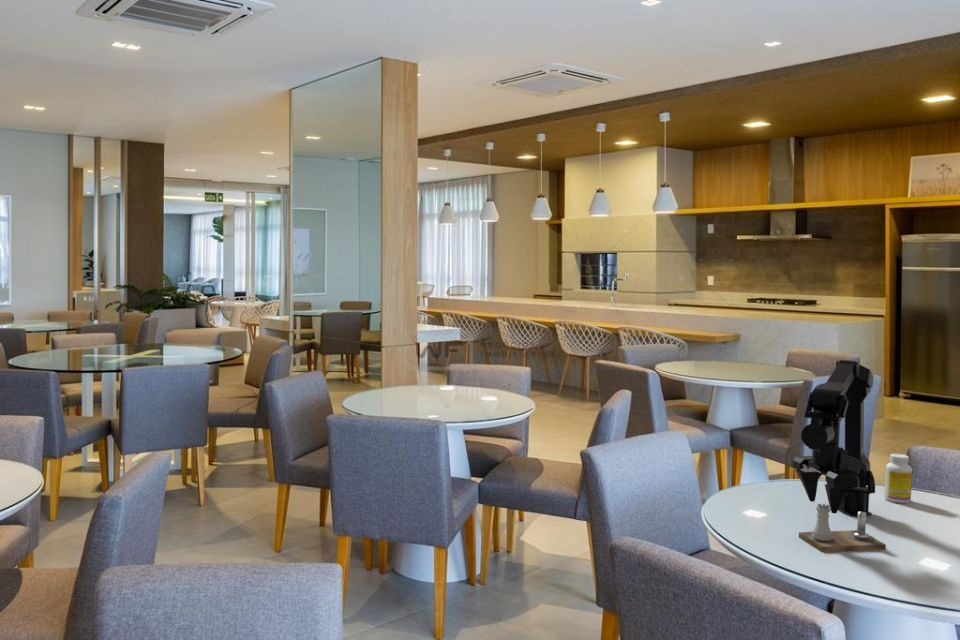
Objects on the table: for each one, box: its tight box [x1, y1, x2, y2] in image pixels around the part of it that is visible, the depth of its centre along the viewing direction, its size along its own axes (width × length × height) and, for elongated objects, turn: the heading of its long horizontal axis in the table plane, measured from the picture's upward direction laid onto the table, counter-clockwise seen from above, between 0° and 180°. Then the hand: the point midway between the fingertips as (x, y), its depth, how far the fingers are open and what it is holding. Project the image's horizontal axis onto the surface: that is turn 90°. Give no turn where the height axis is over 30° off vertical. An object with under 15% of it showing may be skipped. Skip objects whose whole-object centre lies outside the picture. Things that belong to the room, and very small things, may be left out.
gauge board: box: [798, 529, 887, 553], centre depth 190 cm, size 16×10×1 cm, turn 98°
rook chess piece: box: [811, 503, 832, 541], centre depth 189 cm, size 4×4×8 cm
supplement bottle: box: [884, 453, 913, 504], centre depth 225 cm, size 7×7×13 cm
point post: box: [854, 511, 870, 539], centre depth 191 cm, size 3×3×6 cm
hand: (822, 507), depth 189 cm, fingers open, 9 cm apart
